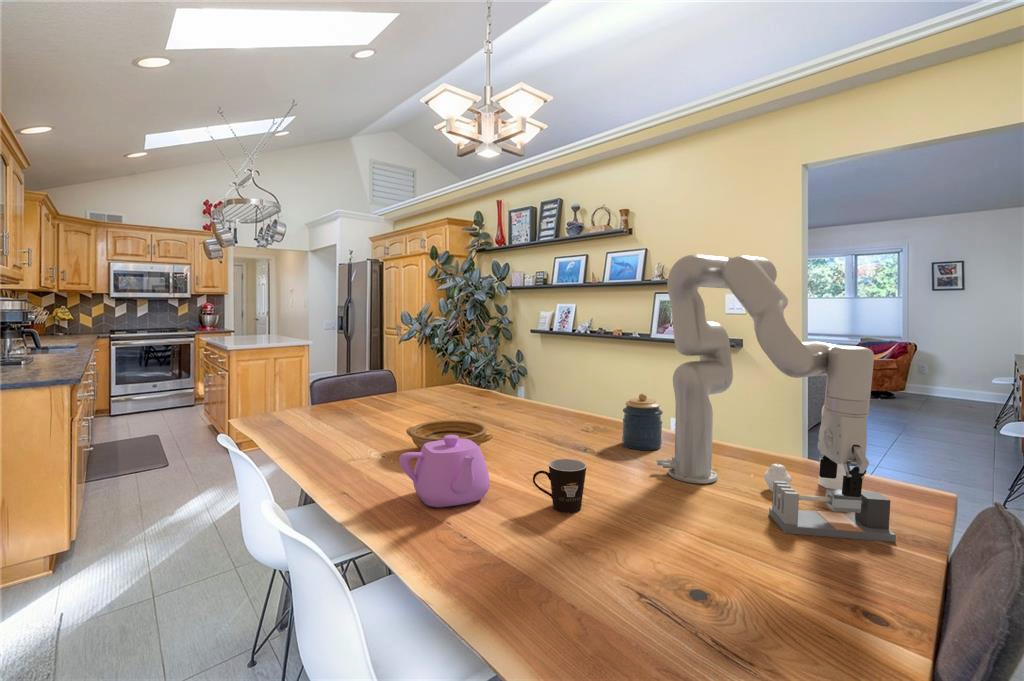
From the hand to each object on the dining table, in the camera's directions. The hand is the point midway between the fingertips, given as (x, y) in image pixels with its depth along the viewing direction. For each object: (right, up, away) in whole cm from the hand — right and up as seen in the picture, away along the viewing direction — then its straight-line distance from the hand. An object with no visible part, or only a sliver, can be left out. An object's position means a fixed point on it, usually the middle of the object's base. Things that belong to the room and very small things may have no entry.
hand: (838, 486), depth 98 cm
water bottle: (+16, -8, +24) cm, 30 cm away
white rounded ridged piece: (-1, -8, +20) cm, 22 cm away
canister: (-25, -5, +60) cm, 65 cm away
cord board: (-2, -9, 0) cm, 9 cm away
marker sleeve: (0, -4, -1) cm, 5 cm away
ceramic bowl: (-88, -6, +51) cm, 102 cm away
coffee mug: (-57, -8, +10) cm, 59 cm away
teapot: (-83, -8, +15) cm, 84 cm away
